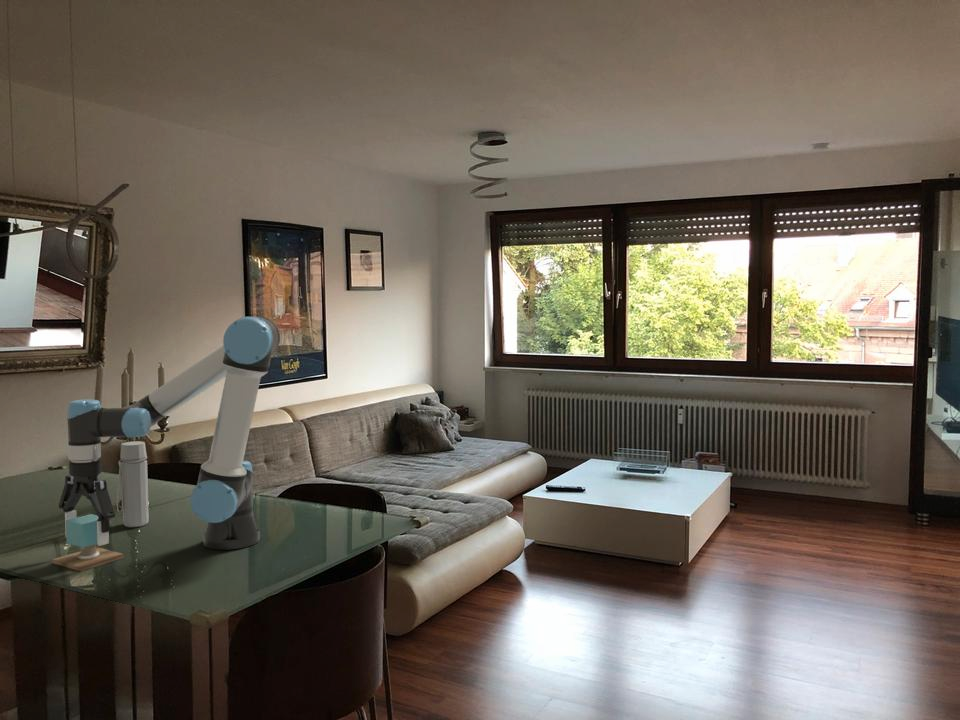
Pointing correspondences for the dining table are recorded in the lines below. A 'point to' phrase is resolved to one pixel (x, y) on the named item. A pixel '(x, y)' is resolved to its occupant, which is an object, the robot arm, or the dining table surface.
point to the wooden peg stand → (87, 558)
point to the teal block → (82, 530)
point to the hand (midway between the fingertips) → (87, 540)
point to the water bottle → (133, 484)
